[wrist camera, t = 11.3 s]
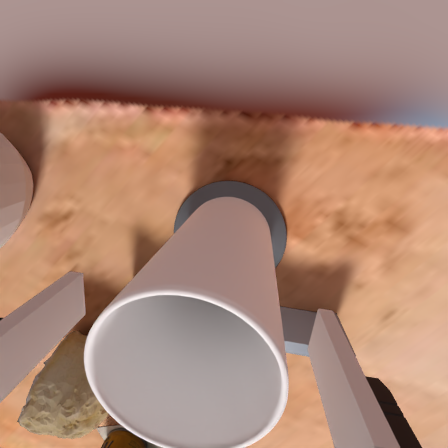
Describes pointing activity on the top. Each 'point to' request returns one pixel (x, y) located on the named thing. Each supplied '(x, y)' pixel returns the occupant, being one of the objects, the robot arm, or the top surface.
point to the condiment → (122, 438)
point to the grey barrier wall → (299, 329)
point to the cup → (196, 336)
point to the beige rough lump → (63, 395)
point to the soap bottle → (13, 189)
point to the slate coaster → (244, 193)
